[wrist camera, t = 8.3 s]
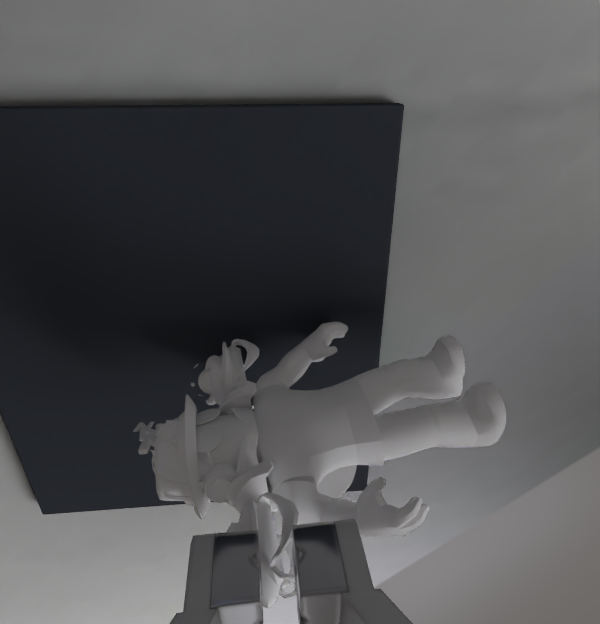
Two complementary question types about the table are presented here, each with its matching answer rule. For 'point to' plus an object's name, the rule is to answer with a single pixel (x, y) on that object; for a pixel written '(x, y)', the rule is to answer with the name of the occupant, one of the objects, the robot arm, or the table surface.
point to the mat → (177, 269)
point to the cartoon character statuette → (313, 441)
